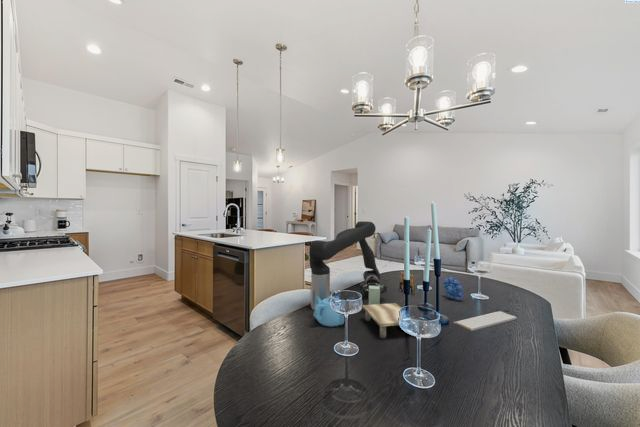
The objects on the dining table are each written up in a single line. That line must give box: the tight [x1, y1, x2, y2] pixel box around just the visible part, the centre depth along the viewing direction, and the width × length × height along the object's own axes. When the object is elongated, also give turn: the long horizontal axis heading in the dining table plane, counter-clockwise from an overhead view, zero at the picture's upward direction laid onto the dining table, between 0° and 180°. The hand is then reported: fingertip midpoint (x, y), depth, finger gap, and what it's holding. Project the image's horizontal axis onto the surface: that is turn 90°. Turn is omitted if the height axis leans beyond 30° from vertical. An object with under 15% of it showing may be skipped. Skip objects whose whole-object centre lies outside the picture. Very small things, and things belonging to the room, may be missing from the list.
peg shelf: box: [361, 302, 402, 339], centre depth 113 cm, size 16×20×6 cm
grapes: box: [442, 276, 465, 301], centre depth 147 cm, size 12×7×12 cm, turn 34°
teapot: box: [313, 295, 345, 328], centre depth 118 cm, size 15×15×11 cm
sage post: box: [368, 286, 381, 305], centre depth 128 cm, size 5×5×12 cm
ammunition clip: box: [398, 270, 416, 295], centre depth 159 cm, size 11×2×12 cm, turn 26°
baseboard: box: [453, 308, 518, 332], centre depth 120 cm, size 30×3×10 cm
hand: (373, 291), depth 139 cm, fingers open, 8 cm apart
